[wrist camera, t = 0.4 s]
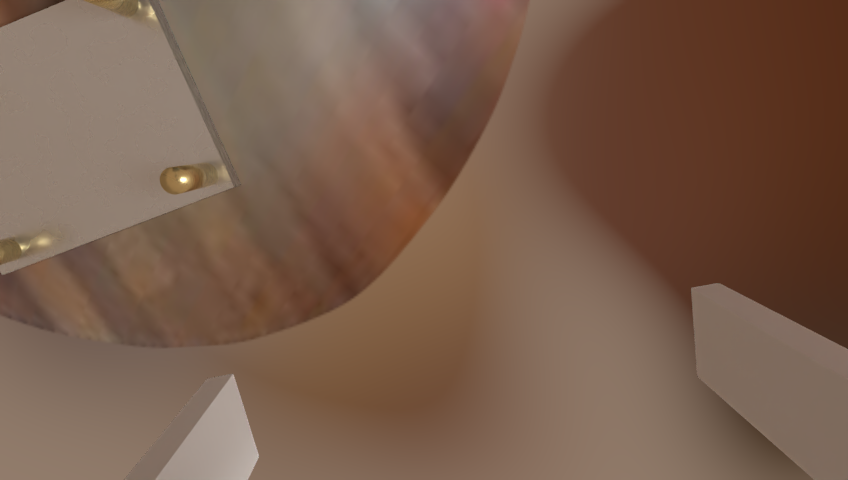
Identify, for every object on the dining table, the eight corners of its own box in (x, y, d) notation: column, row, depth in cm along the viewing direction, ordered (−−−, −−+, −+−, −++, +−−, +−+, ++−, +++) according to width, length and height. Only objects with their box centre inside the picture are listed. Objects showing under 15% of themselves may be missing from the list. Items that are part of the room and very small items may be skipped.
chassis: (-94, 77, 36) (-201, 66, 30) (147, -22, 35) (88, -57, 29) (17, 269, 40) (-59, 295, 33) (240, 184, 39) (206, 195, 32)
